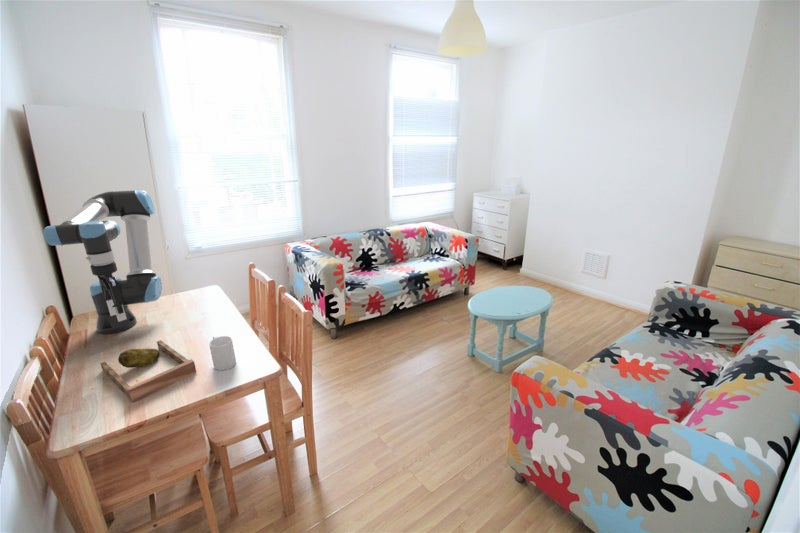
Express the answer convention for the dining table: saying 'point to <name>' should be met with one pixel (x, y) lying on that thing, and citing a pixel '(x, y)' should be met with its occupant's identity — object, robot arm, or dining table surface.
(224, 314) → the dining table surface
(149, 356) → the potato
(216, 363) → the mug
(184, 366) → the channel
